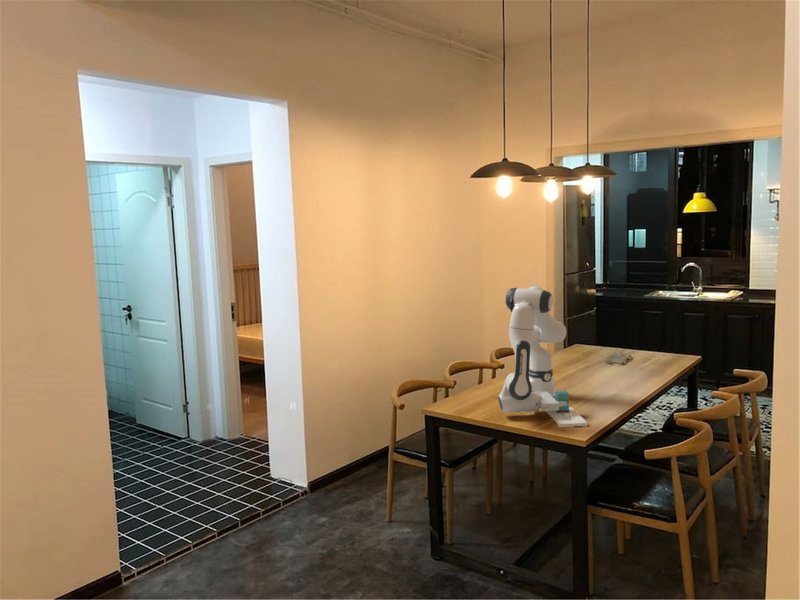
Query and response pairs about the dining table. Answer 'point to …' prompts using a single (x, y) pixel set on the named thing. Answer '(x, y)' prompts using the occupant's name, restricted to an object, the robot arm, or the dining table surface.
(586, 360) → the dining table surface
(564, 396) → the block
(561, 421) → the board
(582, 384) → the dining table surface
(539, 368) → the robot arm
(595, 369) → the dining table surface
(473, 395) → the dining table surface
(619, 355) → the stone slab
